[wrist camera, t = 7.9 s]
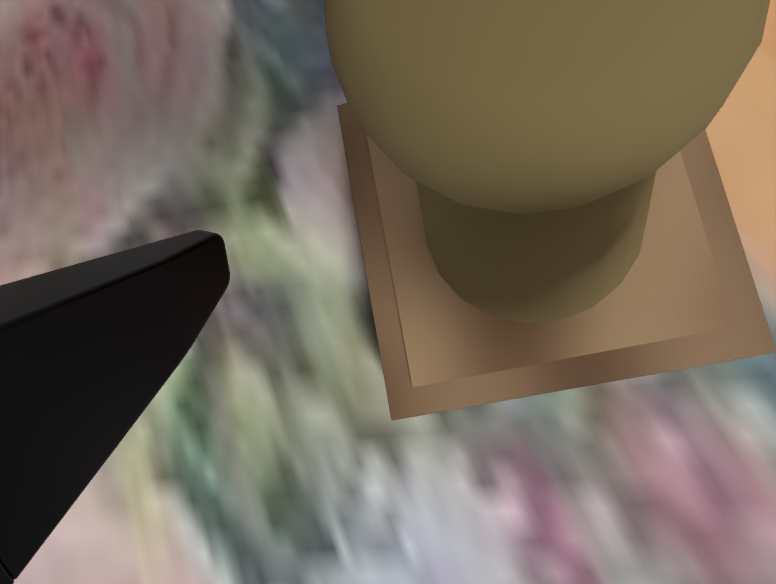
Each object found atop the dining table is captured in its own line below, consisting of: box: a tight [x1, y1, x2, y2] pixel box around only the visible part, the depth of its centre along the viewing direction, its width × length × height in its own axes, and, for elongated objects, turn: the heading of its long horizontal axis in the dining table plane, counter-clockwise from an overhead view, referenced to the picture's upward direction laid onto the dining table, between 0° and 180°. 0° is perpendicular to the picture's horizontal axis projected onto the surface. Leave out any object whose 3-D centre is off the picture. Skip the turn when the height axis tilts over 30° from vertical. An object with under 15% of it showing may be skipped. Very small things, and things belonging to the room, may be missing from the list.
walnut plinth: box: [337, 103, 776, 420], centre depth 17 cm, size 10×10×3 cm
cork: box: [325, 0, 770, 323], centre depth 11 cm, size 6×6×11 cm
